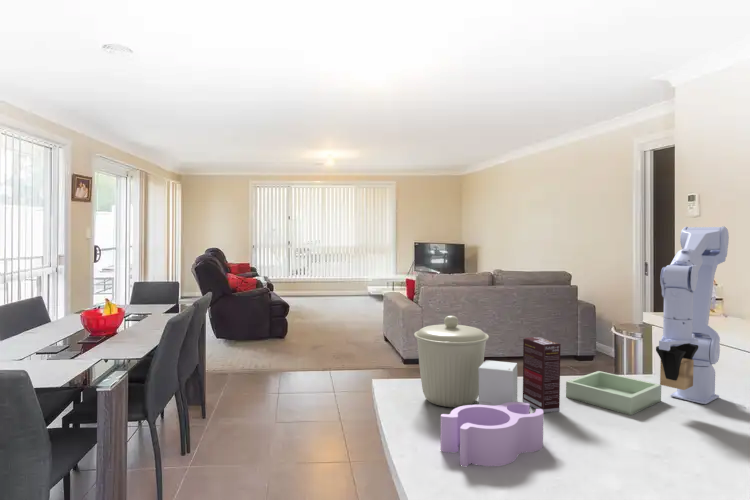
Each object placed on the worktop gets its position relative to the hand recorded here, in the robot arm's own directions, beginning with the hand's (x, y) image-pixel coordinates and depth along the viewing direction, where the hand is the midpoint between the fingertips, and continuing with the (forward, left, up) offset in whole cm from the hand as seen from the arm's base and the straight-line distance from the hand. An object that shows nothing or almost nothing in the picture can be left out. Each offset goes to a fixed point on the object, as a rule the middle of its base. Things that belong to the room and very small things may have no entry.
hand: (676, 377), depth 115 cm
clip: (+48, -14, -9) cm, 50 cm away
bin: (+1, -14, -8) cm, 16 cm away
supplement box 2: (+20, -22, -9) cm, 31 cm away
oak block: (0, 0, -2) cm, 2 cm away
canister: (+34, -38, -9) cm, 52 cm away
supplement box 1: (+36, -22, -9) cm, 43 cm away
